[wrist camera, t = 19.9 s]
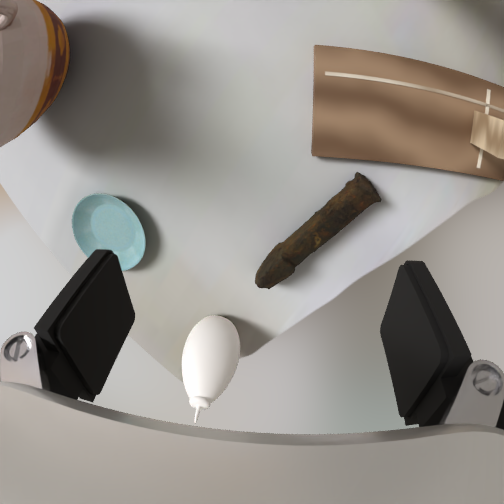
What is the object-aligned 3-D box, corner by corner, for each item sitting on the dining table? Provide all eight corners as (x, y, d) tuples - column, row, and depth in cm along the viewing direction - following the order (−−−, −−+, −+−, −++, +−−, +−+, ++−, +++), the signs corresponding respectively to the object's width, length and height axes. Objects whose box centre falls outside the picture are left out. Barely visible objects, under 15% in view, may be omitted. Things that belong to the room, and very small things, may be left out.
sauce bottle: (252, 314, 46) (237, 421, 31) (233, 343, 50) (215, 441, 35) (203, 294, 45) (170, 400, 30) (188, 327, 49) (158, 423, 34)
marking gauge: (475, 94, 25) (513, 104, 18) (499, 102, 24) (538, 115, 18) (467, 158, 29) (501, 180, 23) (490, 163, 29) (525, 186, 22)
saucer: (67, 215, 40) (58, 223, 38) (113, 170, 36) (105, 176, 34) (115, 273, 45) (109, 282, 43) (168, 239, 41) (162, 248, 39)
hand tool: (357, 165, 33) (366, 178, 29) (377, 190, 35) (388, 206, 31) (242, 259, 42) (237, 280, 38) (263, 277, 43) (260, 299, 39)
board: (313, 46, 26) (315, 44, 25) (510, 91, 24) (517, 93, 23) (311, 152, 33) (312, 156, 31) (497, 176, 31) (503, 181, 29)
